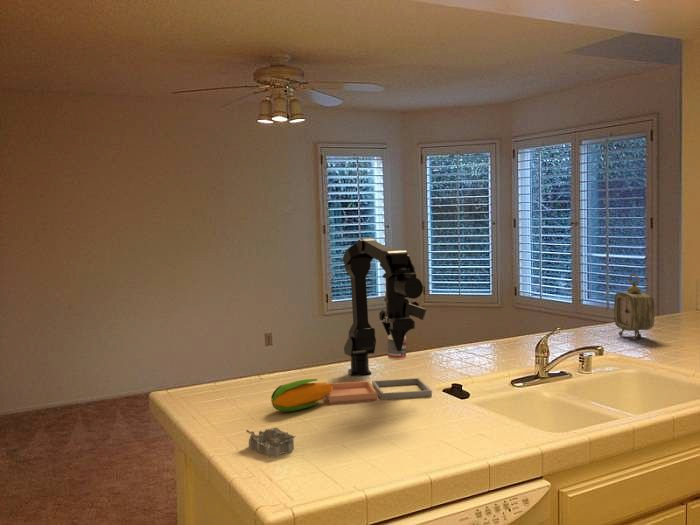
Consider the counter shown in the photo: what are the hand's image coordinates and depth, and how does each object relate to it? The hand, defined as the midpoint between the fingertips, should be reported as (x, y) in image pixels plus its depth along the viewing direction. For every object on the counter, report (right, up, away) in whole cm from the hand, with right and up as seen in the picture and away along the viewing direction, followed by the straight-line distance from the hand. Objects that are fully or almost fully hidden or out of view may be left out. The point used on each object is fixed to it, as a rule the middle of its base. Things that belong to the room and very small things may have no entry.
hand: (396, 348), depth 187 cm
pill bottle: (0, -3, 0) cm, 3 cm away
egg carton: (-31, -17, -42) cm, 55 cm away
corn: (-26, -14, -12) cm, 32 cm away
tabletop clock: (+98, -5, +69) cm, 120 cm away
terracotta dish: (-13, -13, -2) cm, 19 cm away
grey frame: (+1, -12, +1) cm, 12 cm away
